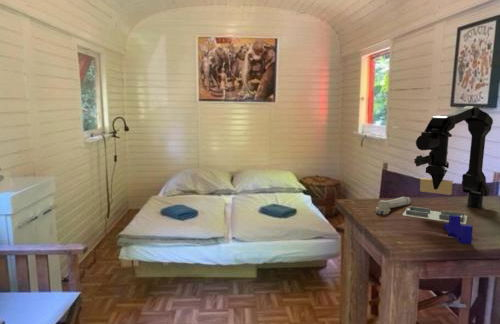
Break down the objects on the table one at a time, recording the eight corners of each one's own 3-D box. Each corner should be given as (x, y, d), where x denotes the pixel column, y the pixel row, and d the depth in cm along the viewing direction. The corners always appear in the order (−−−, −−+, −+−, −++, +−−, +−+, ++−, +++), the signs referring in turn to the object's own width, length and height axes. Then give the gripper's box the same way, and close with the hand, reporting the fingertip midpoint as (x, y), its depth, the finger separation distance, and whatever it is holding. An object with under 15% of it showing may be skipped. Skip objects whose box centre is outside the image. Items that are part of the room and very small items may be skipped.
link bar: (420, 189, 151) (421, 177, 151) (451, 193, 145) (452, 180, 145) (419, 191, 149) (420, 178, 148) (450, 194, 143) (452, 182, 142)
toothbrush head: (413, 197, 165) (386, 200, 148) (411, 212, 166) (384, 216, 148) (401, 195, 169) (374, 197, 152) (400, 209, 170) (372, 214, 152)
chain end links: (409, 209, 156) (409, 206, 156) (464, 216, 146) (464, 213, 146) (405, 213, 151) (406, 210, 150) (463, 221, 140) (463, 218, 140)
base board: (407, 209, 159) (407, 207, 159) (467, 218, 148) (467, 215, 147) (401, 217, 149) (402, 215, 149) (465, 226, 138) (465, 224, 137)
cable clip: (443, 231, 134) (444, 214, 133) (457, 231, 133) (458, 215, 132) (456, 243, 122) (457, 225, 121) (471, 244, 121) (472, 226, 121)
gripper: (420, 145, 157) (417, 182, 159) (412, 150, 141) (409, 190, 143) (450, 147, 151) (447, 185, 153) (445, 152, 135) (442, 194, 137)
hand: (436, 188), depth 147 cm, fingers closed on link bar, 3 cm apart
